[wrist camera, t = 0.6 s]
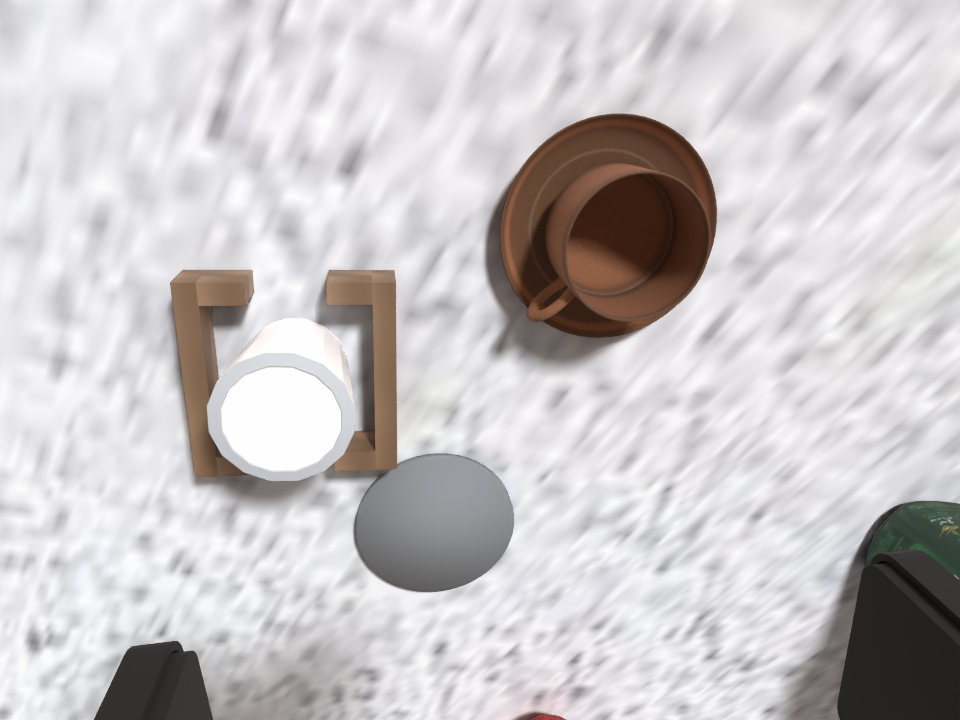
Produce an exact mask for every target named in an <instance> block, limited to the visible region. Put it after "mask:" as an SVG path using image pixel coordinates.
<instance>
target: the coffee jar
mask: <svg viewBox="0 0 960 720" xmlns="http://www.w3.org/2000/svg"><path fill="white" fill-rule="evenodd" d="M910 549H918V550H922V551H924V552H925V553H927V554H929V555H930V556H931V557H932V558H933V559H935V560H936V561H937V562H938V563H939V564H941V565H942V566H943V567H944V568H945V569H947V570H948V571H949V572H950V573H951V574H952V575H954V576H955V577H956V578H957V579H958V580H960V504H957V503H950V502H940V501H915V502H909V503H907V504H904V505H902V506H901V507H900V508H898V509H897V510H896V511H894V512H893V513H892V514H891V515H890V516H889V517H888V518H887V519H886V520H885V521H884V522H883V523H882V524H881V525H880V527H879V528H878V530H877V531H876V533H875V535H874V536H873V538H872V541H871V543H870V545H869V548H868V552H867V557H866V561H865V567H866V566H869V565H870V563H871V560H872V558H873V557H874V556H875V555H876V554H880V553H886V552H894V551H902V550H910Z"/></svg>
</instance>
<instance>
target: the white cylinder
mask: <svg viewBox="0 0 960 720" xmlns="http://www.w3.org/2000/svg"><path fill="white" fill-rule="evenodd" d="M207 416H208V428H209V433H210V435H211V437H212V439H213V440H214V442H215V444H216V446H217V447H218V449H219V451H220V453H221V454H222V456H223V457H225V458H226V459H227V460H229V461H230V462H231V463H232V464H234V465H235V466H236V467H238V468H239V469H240V470H241V471H243V472H244V473H247V474H250V475H253V476H256V477H259V478H263V479H266V480H269V481H299V480H302V479H305V478H308V477H310V476H313V475H316V474H318V473H321V472H324V471H325V470H326V469H328V468H329V467H330V466H331V465H332V464H333V463H334V462H336V461H337V460H338V459H339V458H340V457H341V456H342V455H344V453H345V451H346V449H347V447H348V444H349V442H350V440H351V438H352V436H353V434H354V432H355V405H354V399H353V393H352V386H351V380H350V374H349V368H348V361H347V356H346V354H345V352H344V350H343V347H342V345H341V343H340V341H339V339H338V338H337V337H336V336H334V335H333V334H332V333H331V332H330V331H329V330H328V329H327V328H326V327H325V326H322V325H320V324H317V323H315V322H312V321H310V320H307V319H287V318H285V319H283V320H280V321H277V322H274V323H272V324H269V325H266V326H265V327H264V328H263V329H262V330H261V331H260V332H259V333H258V334H257V335H256V336H255V337H254V338H253V339H252V340H251V341H250V342H249V343H248V345H247V346H246V347H245V348H244V349H243V351H242V352H241V353H240V354H239V355H238V357H237V358H236V359H235V360H234V361H233V363H232V364H231V365H230V366H229V367H228V369H227V370H226V371H225V372H224V373H223V375H222V376H221V377H220V378H219V379H218V381H217V382H216V384H215V387H214V389H213V392H212V394H211V397H210V399H209V402H208V404H207Z"/></svg>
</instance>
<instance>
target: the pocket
mask: <svg viewBox="0 0 960 720" xmlns="http://www.w3.org/2000/svg"><path fill="white" fill-rule="evenodd" d="M170 287H171V294H172V302H173V310H174V317H175V325H176V333H177V340H178V348H179V356H180V363H181V371H182V379H183V386H184V394H185V402H186V409H187V417H188V425H189V432H190V440H191V448H192V456H193V463H194V471H195V477H213V476H237V475H250V474H247V473H244V472H243V471H241V470H240V469H239V468H238V467H236V466H235V465H234V464H232V463H231V462H230V461H229V460H227V459H226V458H225V457H223V456H222V454H221V453H220V451H219V449H218V447H217V446H216V444H215V442H214V440H213V439H212V437H211V435H210V433H209V428H208V416H207V404H208V402H209V399H210V397H211V394H212V392H213V389H214V387H215V384H216V382H217V381H218V379H219V377H218V368H217V358H216V349H215V340H214V331H213V322H212V313H211V306H246V305H247V303H248V302H249V300H250V298H251V296H252V295H253V293H254V286H253V274H252V270H182V271H181V272H180V273H179V274H178V275H177V276H176V277H175V278H174V279H173V280H172V281H171V282H170ZM326 290H327V305H373V353H374V403H375V431H355V432H354V434H353V436H352V438H351V440H350V442H349V444H348V447H347V449H346V451H345V453H344V455H342V456H341V457H340V458H339V459H338V460H337V461H336V462H334V468H335V471H360V470H384V469H397V394H396V281H395V272H394V270H329V272H328V277H327V281H326Z"/></svg>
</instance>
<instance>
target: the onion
mask: <svg viewBox="0 0 960 720" xmlns="http://www.w3.org/2000/svg"><path fill="white" fill-rule="evenodd" d="M531 720H565V719H564V718H562V717H560V716H556V715H547V714H544V715H540V716H537V717H534V718H532V719H531Z"/></svg>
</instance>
